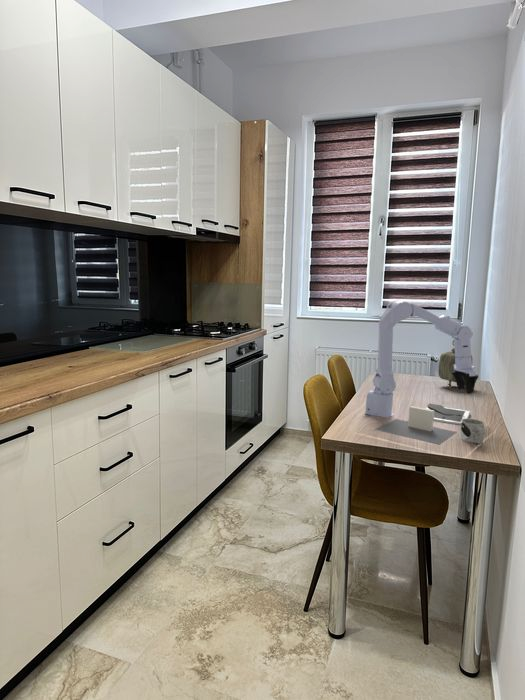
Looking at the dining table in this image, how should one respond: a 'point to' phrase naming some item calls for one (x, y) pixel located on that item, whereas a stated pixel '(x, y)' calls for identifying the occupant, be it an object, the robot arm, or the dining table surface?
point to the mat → (416, 432)
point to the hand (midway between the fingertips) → (465, 390)
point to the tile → (421, 418)
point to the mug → (472, 431)
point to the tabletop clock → (447, 366)
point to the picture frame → (448, 414)
